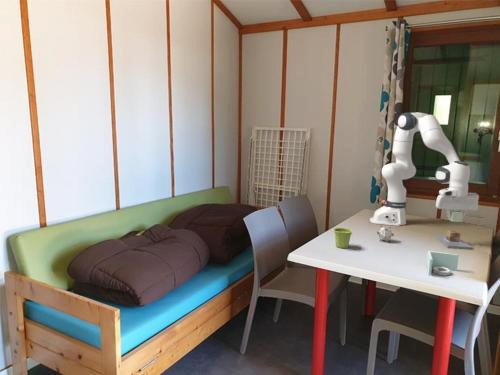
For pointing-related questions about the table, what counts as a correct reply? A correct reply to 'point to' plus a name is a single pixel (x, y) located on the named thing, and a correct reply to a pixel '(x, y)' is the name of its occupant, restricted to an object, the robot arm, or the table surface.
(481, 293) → the table surface
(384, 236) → the white spiky ball
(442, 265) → the l-shaped corner panel
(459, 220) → the green cube
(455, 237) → the walnut cube
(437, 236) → the board
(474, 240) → the table surface
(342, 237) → the plant pot
